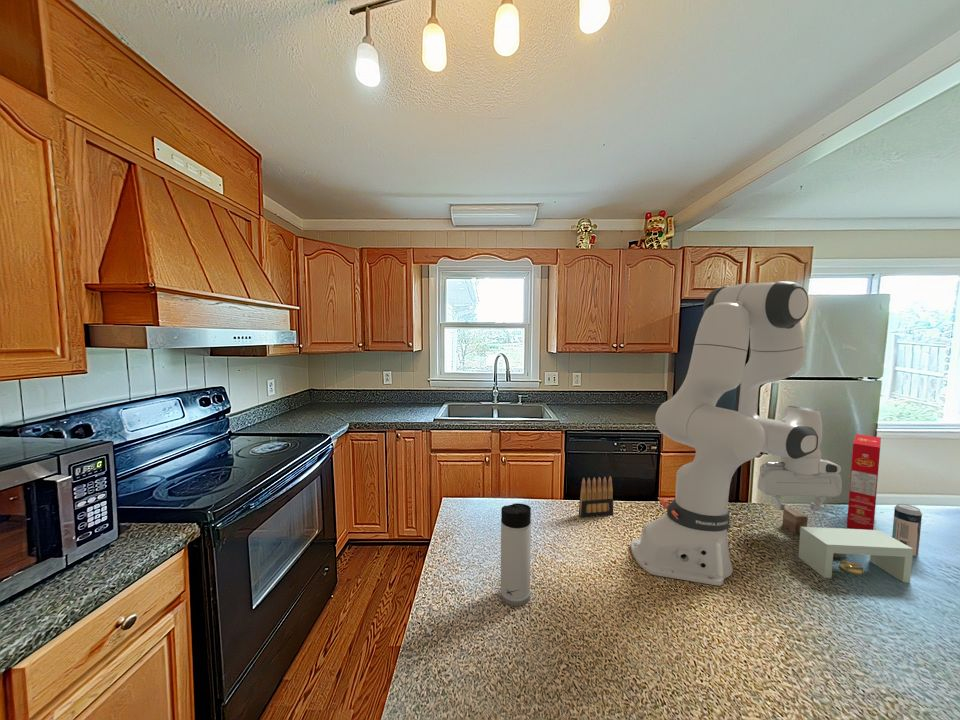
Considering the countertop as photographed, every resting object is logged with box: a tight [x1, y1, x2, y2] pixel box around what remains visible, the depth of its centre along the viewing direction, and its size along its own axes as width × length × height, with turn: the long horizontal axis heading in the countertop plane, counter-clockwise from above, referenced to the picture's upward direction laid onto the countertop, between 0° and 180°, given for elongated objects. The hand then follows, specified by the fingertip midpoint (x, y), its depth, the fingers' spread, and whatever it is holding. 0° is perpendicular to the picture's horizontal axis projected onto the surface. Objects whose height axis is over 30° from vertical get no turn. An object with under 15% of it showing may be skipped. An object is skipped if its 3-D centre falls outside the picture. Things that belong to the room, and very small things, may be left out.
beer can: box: [891, 503, 923, 557], centre depth 97 cm, size 5×5×12 cm
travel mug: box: [500, 502, 532, 607], centre depth 80 cm, size 6×7×20 cm
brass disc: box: [839, 560, 864, 576], centre depth 90 cm, size 4×4×1 cm
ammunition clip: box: [578, 475, 614, 518], centre depth 116 cm, size 11×2×12 cm, turn 100°
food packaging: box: [846, 433, 882, 530], centre depth 112 cm, size 15×5×25 cm, turn 133°
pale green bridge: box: [798, 526, 914, 584], centre depth 90 cm, size 18×8×8 cm, turn 85°
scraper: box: [782, 507, 848, 559], centre depth 103 cm, size 6×16×5 cm, turn 175°
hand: (797, 509), depth 108 cm, fingers open, 8 cm apart
